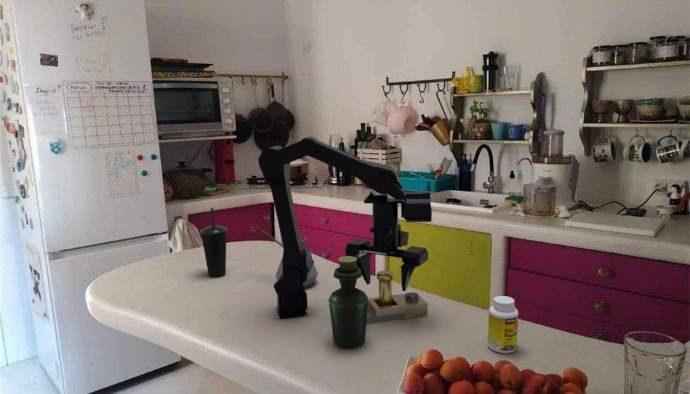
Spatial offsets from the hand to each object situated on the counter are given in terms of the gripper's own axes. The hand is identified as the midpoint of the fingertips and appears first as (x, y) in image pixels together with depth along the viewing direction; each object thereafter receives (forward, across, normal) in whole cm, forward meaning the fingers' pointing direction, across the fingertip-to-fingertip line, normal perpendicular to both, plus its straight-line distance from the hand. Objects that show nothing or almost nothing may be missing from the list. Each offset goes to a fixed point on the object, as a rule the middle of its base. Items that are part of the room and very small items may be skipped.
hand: (386, 287), depth 116 cm
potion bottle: (+7, +1, +16) cm, 17 cm away
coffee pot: (+7, +36, -7) cm, 37 cm away
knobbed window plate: (+7, 0, 0) cm, 7 cm away
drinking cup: (+7, +56, -2) cm, 56 cm away
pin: (+7, 0, 0) cm, 7 cm away
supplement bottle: (+7, -27, +4) cm, 28 cm away
